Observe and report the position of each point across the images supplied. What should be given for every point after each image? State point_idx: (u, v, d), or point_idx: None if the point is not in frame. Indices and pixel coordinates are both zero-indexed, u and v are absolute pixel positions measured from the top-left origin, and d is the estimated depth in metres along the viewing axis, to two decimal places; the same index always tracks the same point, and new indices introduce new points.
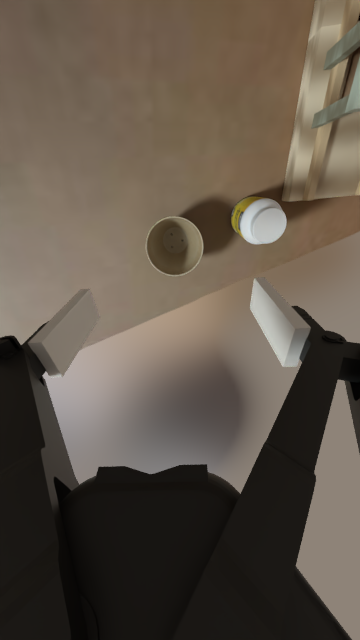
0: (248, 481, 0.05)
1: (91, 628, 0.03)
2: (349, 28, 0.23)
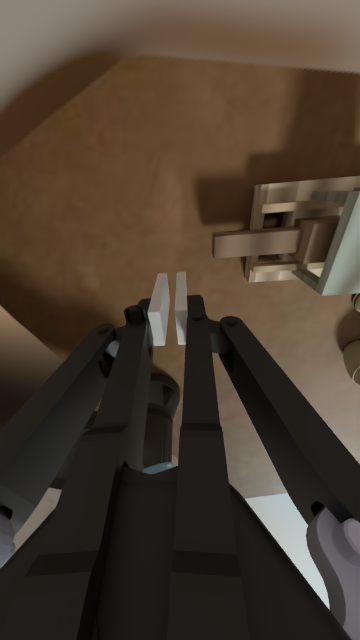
0: (179, 470, 0.05)
1: None
2: (291, 268, 0.31)
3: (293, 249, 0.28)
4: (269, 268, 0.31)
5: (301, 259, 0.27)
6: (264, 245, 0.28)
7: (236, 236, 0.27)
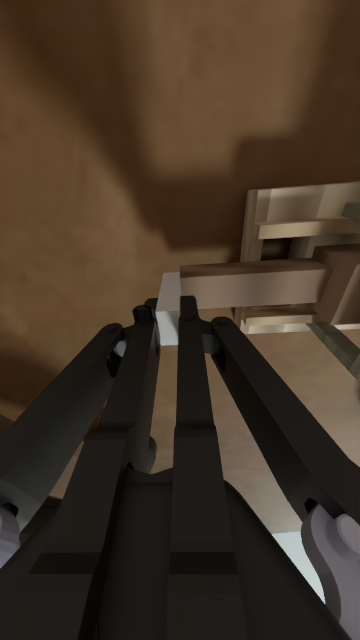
0: (174, 471, 0.05)
1: None
2: (305, 320, 0.20)
3: (312, 298, 0.17)
4: (270, 319, 0.20)
5: (327, 317, 0.16)
6: (264, 292, 0.17)
7: (216, 278, 0.16)
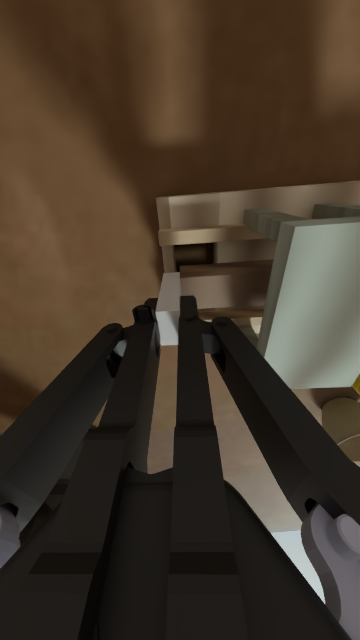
0: (174, 471, 0.05)
1: None
2: None
3: None
4: None
5: None
6: (264, 291, 0.16)
7: (216, 277, 0.16)
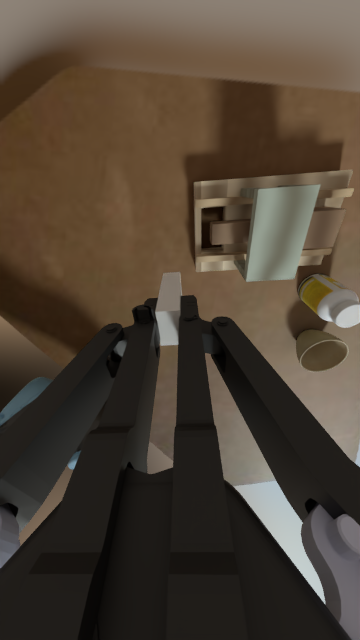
0: (174, 471, 0.05)
1: None
2: (230, 258, 0.34)
3: None
4: (210, 258, 0.34)
5: None
6: None
7: (232, 224, 0.30)
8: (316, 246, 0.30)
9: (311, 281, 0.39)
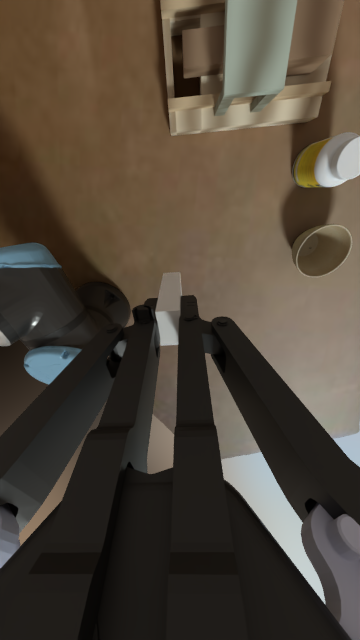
0: (174, 471, 0.05)
1: None
2: (208, 101, 0.29)
3: None
4: (184, 100, 0.29)
5: None
6: None
7: (206, 29, 0.24)
8: (311, 53, 0.24)
9: (307, 148, 0.33)
